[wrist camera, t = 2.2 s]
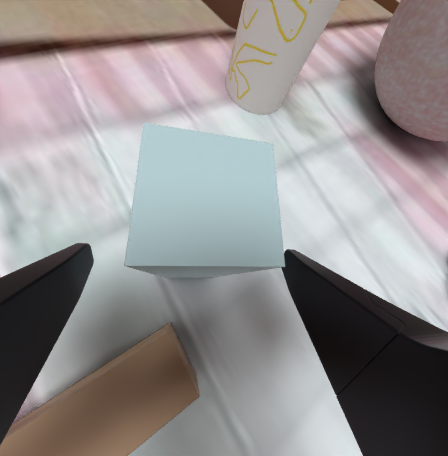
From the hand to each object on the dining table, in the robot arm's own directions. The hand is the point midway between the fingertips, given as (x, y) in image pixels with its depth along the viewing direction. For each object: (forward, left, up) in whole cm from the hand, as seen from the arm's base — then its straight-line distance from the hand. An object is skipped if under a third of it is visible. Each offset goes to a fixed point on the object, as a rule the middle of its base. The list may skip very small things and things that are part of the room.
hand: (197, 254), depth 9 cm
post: (+1, -1, -9) cm, 9 cm away
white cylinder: (+17, -19, -9) cm, 26 cm away
